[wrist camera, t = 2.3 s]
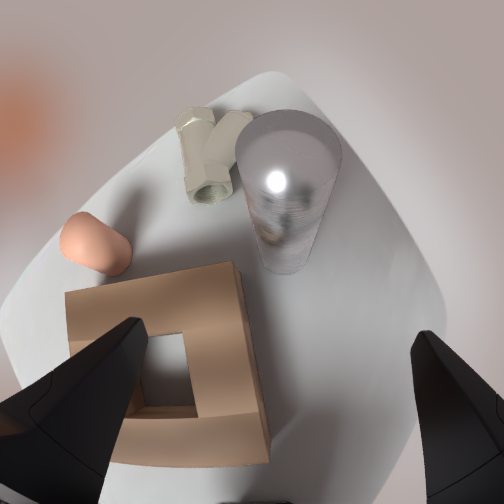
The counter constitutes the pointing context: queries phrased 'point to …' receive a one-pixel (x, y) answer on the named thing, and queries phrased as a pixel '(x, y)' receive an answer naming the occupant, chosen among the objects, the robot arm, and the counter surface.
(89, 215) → the short terracotta pin
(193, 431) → the walnut block
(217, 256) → the counter surface
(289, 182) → the tall metal pin
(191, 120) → the pipe fitting
